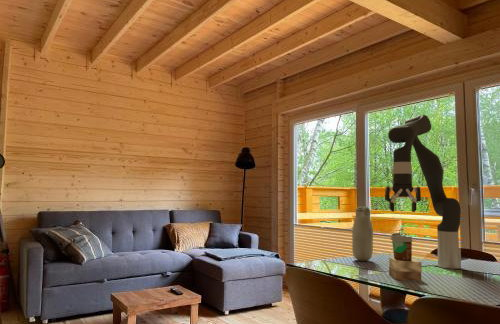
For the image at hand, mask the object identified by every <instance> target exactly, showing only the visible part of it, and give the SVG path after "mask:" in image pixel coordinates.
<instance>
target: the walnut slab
mask: <svg viewBox="0 0 500 324" xmlns="http://www.w3.org/2000/svg"><path fill="white" fill-rule="evenodd" d="M388 276H390V277H391V278H392V279H393V280H395V281H408V280H417V281H416V282H422V272H405V271H395V270H394V269H392V268H391V267H389V266H388Z"/></svg>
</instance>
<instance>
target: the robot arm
mask: <svg viewBox="0 0 500 324" xmlns="http://www.w3.org/2000/svg"><path fill="white" fill-rule="evenodd" d="M431 129H432V123H431V120H430V118H429V116H428V115H426V114H419V115H416V116H414V117H410V118H408V119H405V121H404V124H403V125H397V126H393V127H391V128H390V129H389V130H388V133H387V136H388V140H389V141H390V142H391V143H393V144H401V143H402V144H403V146H402V147H399V148H395V149H394V150H393V154H392V155H393V156H392V157H393V160H392V161H393V165H392V186H385V190H384V201H386V202H389V211H391V212H392V213H393V212H395V200H397V198H402V197H403V198H408V199H409V200H410V201H411V212H412V213H413V212H414V213H415V212H416V211H417V203H419V202H421V201H422V196H421V195H422V194H421V187H420V186H416V187H414V186H413V169H412V168H413V166H412V149H414V151H415V154H416V158H417V160H418V164H419V167H420V170H421V172H422V175H423V176H424V180H425V183H426V186H427V188H428V191H429V195H430V198H431V203H432V209H433V210H434V212H435V213H436V214H437V215H438V216H440V217H442V218H441V221H440V223H438V224H437V226H436V229H437V231H436V233H437V234H436V235H437V236H436V237H437V241H436V242H437V267H439V268H441V269H442V268H444V269H450V270H452V269H454V270H455V269H456V270H457V269H462V254H461V253H462V248H461V247H460V239H459V236H460V235H459V228H460V226H461V217H462V216H461V214H462V213H461V210H462V209H461V205H460V202H459V201H458V200H457V199H456V198H453V197H447V195H446V193H445V190H444V186H443V183H444V182H443V181H444V169H443V165H442V163H441V160H440V157H439V155H437V154H436V153H434V152H433V151H432V150H430V149H429V148H428V147H426V146H425V145H424V143H422V142H421V140H420V138H419V137H418V136H421V135H425V134H427V133H429V132H431ZM390 192H391V193H392V192H393V194H392V195H391V197H390V194H391V193H390ZM413 192H414V193H415V196H414V195H413Z"/></svg>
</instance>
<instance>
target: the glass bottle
mask: <svg viewBox="0 0 500 324" xmlns="http://www.w3.org/2000/svg"><path fill="white" fill-rule="evenodd" d="M351 232H352V233H351V235H352V236H351V240H352V242H351V244H352V245H351V246H352V251H351V252H352V256H353V257H354V258H355V260H356V261H359V262H366V261H367V262H368V261H370V260H371V259H372V258H373V250H374V246H373V245H374V242H373V241H374V229H373V224H372V220H371V210H370V208H369V207H368V206H363V205H361V206H358V207H356V209H355V217H354V222H353V226H352V230H351Z"/></svg>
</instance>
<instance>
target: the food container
mask: <svg viewBox="0 0 500 324" xmlns="http://www.w3.org/2000/svg"><path fill="white" fill-rule="evenodd" d="M390 241H391V242H392V251H393V257H394V259H396V260H400V261H412V258H413V257H412V254H413V253H412V252H413V250H412V249H413V247H412V245H413V243H412V242H413V237H412V236H406V235H401V232H395V233H394V232H393V233H391V235H390Z"/></svg>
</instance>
